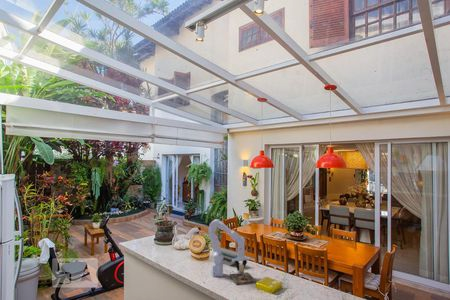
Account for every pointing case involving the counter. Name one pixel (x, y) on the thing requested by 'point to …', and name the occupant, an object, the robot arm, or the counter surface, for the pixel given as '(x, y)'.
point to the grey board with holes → (242, 278)
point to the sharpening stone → (228, 256)
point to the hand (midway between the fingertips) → (240, 270)
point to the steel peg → (241, 269)
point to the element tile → (269, 285)
